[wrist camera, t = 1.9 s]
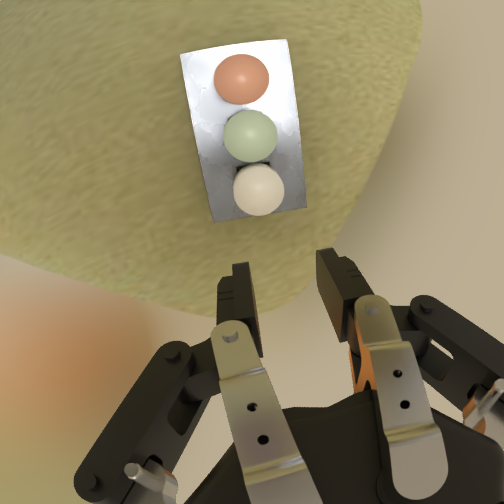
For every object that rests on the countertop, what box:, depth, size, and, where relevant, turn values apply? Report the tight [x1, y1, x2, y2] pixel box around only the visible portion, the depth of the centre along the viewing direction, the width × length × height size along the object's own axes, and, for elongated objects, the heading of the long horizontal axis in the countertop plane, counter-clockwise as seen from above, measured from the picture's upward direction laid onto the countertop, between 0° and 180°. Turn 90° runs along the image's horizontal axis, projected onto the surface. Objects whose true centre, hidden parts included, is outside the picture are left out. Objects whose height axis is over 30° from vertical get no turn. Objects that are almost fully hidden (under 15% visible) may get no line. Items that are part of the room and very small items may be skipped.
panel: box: [180, 39, 307, 223], centre depth 24 cm, size 16×9×2 cm, turn 8°
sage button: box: [224, 110, 278, 162], centre depth 22 cm, size 4×4×4 cm
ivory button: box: [233, 163, 284, 216], centre depth 24 cm, size 4×4×4 cm
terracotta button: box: [213, 54, 269, 105], centre depth 20 cm, size 4×4×4 cm
